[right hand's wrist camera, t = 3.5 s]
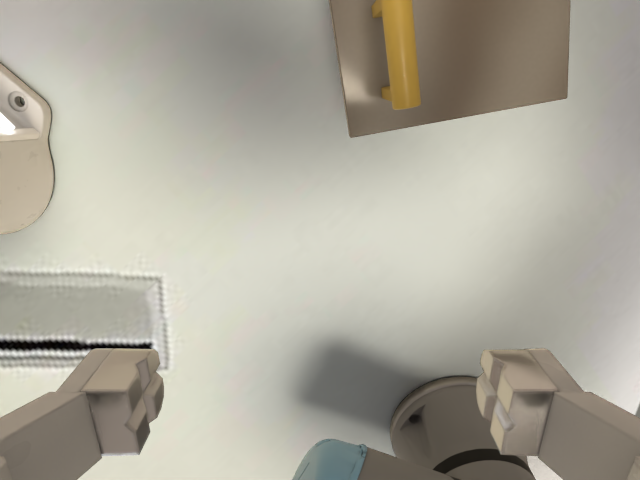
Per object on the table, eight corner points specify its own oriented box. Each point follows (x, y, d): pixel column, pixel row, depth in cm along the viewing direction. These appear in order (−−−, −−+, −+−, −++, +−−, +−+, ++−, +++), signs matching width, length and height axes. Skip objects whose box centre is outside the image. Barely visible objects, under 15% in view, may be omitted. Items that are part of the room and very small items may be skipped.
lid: (349, 135, 30) (360, 157, 23) (325, -23, 27) (329, -61, 19) (558, 97, 29) (644, 106, 22) (563, -71, 26) (666, -131, 18)
